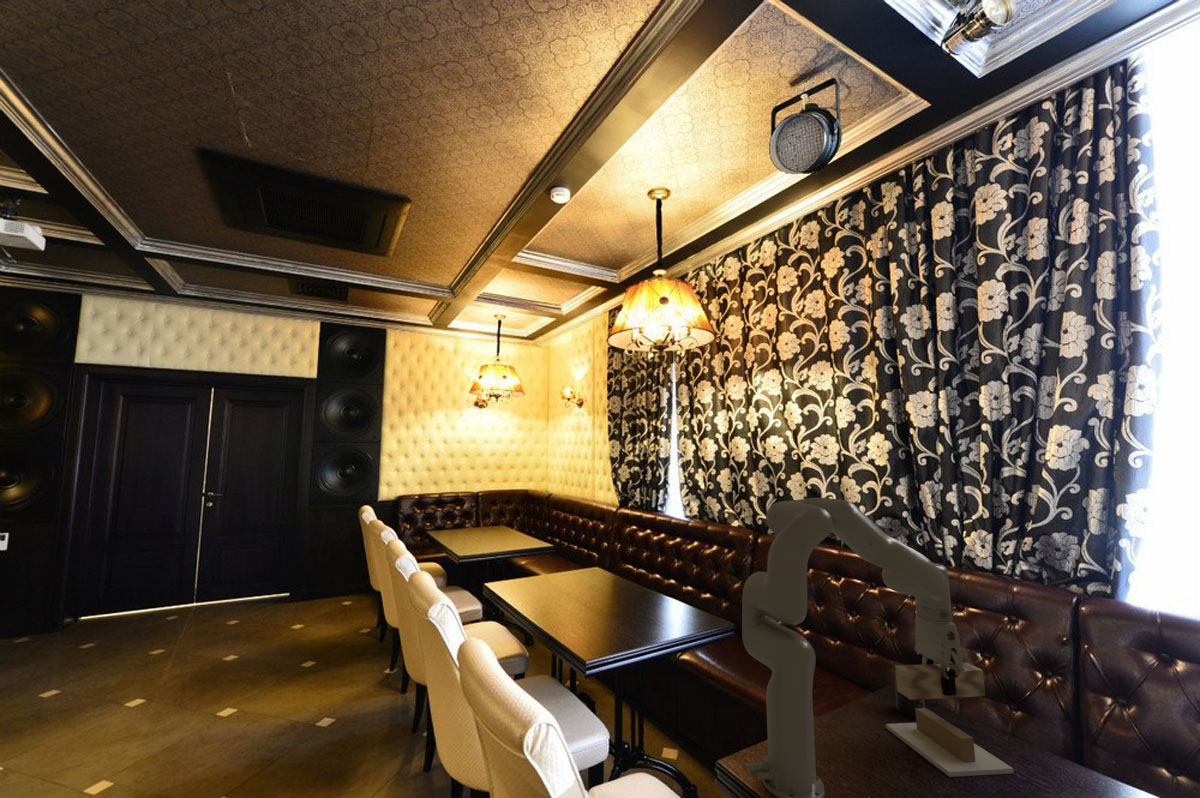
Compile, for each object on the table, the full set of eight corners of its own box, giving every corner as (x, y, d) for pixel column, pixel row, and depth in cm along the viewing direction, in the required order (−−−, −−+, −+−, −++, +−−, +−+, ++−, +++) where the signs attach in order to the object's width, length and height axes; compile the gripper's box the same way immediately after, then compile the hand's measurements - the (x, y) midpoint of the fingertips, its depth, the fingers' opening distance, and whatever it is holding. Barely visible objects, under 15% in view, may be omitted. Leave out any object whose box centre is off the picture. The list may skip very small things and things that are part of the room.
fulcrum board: (949, 776, 105) (946, 747, 106) (885, 728, 124) (884, 703, 125) (1013, 773, 106) (1010, 744, 107) (941, 725, 126) (939, 701, 127)
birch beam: (969, 687, 121) (967, 662, 121) (985, 696, 116) (982, 670, 117) (897, 691, 119) (895, 665, 119) (910, 699, 114) (908, 673, 115)
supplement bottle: (929, 721, 128) (925, 674, 130) (900, 716, 130) (897, 670, 132) (921, 709, 135) (917, 664, 137) (893, 704, 137) (890, 661, 139)
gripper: (976, 623, 112) (985, 706, 110) (921, 603, 129) (927, 674, 126) (948, 624, 111) (956, 707, 109) (896, 604, 128) (901, 675, 125)
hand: (940, 689), depth 117 cm, fingers closed on birch beam, 4 cm apart
